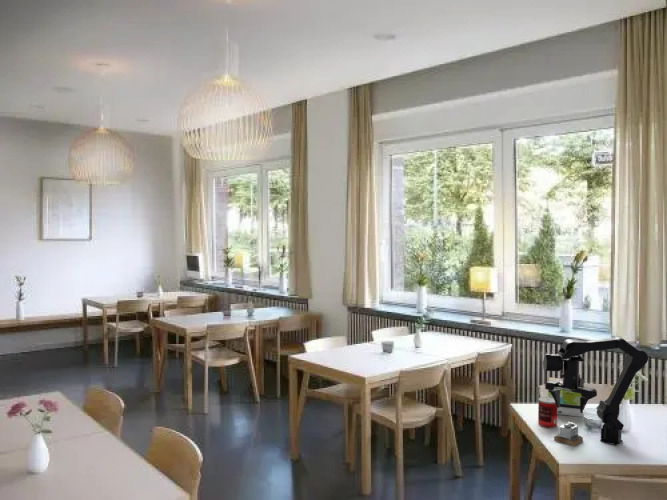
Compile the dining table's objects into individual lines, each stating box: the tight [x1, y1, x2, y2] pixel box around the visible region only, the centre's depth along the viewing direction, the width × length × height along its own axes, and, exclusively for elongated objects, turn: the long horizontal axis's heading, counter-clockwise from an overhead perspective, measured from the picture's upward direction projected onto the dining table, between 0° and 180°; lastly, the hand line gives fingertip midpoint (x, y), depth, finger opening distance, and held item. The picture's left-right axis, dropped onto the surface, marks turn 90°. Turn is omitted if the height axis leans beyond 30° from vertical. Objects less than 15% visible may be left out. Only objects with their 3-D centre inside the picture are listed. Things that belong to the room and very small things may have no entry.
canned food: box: [537, 396, 558, 429], centre depth 247 cm, size 8×8×11 cm
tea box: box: [546, 377, 586, 418], centre depth 264 cm, size 15×10×15 cm
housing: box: [558, 421, 579, 440], centre depth 228 cm, size 4×7×5 cm, turn 134°
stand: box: [553, 433, 584, 447], centre depth 228 cm, size 8×8×2 cm
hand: (570, 410), depth 229 cm, fingers open, 9 cm apart
